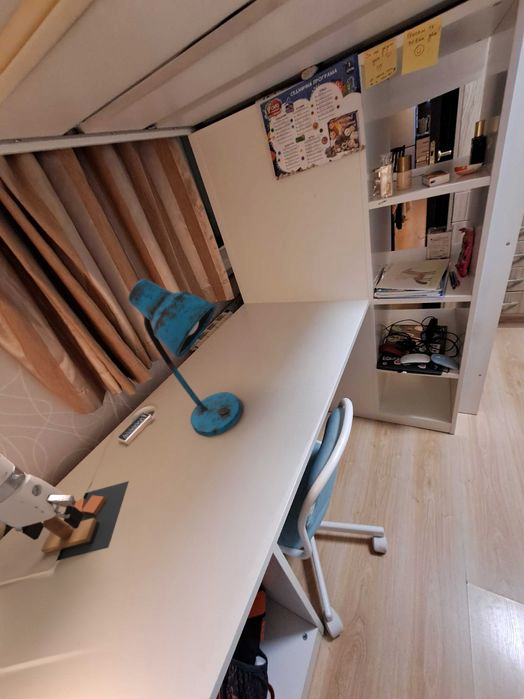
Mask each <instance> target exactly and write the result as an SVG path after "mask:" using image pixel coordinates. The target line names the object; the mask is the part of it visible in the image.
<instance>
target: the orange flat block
mask: <svg viewBox="0 0 524 699" xmlns="http://www.w3.org/2000/svg"><path fill="white" fill-rule="evenodd" d="M86 502H87V501H86V500H85V499H84V498H83V497H82V498H81V499H79V500H76V503H75V506H74V507H76V508H77V509H78V510H79V511H81V512H82V510H83V508H84V507H85V505H86ZM82 513H83V512H82ZM83 515H84V513H83Z"/></svg>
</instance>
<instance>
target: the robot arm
mask: <svg viewBox="0 0 524 699" xmlns="http://www.w3.org/2000/svg"><path fill="white" fill-rule="evenodd" d="M76 502H77V500H76V499H75V496H74V495H72V494H64V493H63V492H62V491H60V490H59V489H57V488H56V487H54V486H53V485H51V484H50V483H48V482H47V481H46V480H44V479H41V478H39V477H37V476H35V475H33V474H27V473H26V472H25V471H24V470H22V469H21V468H20V467H19V466H17V465H16V464H15V463H13V462H12V461H11V460H9V459H8V458H7V457H5V456H4V455H3V454H1V453H0V525H1V526H5V527H6V528H7V529H14V530H15V531H16V532H18V533H20V532H21V533H22V534H23V535H25V536H27V537H29V538H30V539H31V540H34V541H37V540H39V538H40V536H41V534H42V532H43V530H44V528H45V527H43V522H44V521H45V520H48V519H51V518H53V517H58V518H60V519H63V521H64V522H65V523H66V524H68V525H70V526H71V527H73V528H74V529H76V528H78V527H79V524H80V522H81V519H82V517H83V513H82V512H81V511H79V510H78V509H77V508H76V507H74V506H75V503H76ZM54 505H56V506H55V508H54ZM61 507H62V508H65V510H64V511H59V510H60V508H61Z"/></svg>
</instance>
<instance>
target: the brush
mask: <svg viewBox="0 0 524 699" xmlns="http://www.w3.org/2000/svg"><path fill="white" fill-rule="evenodd" d="M42 523H43V527H44V528H45V529H46V530H47V531H49V533H48V535H47V537H46V539H45V541H44V543H43V545H42V547H41V549H40V551H41V552H43V553H44V554H47V553H50V552H54V551H59V550H60V551H59V553H60V552H62V551H65V550H69V549H73V548H77V547H81V546H84V545H88V544H92V543H93V541H94V538H95V535H96V532H97V530H98V527H99V524H100V523H99V522H97V520H95V519H94V518H92V519H88V520H84V521H81V522H80V524H79V527H78V528H76V529H74V528H73V527H71V526H70V525H69V524H67V523H66V522H64V520H62V518H60V517H53V518H51V519H48V520H45V521H42Z"/></svg>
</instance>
